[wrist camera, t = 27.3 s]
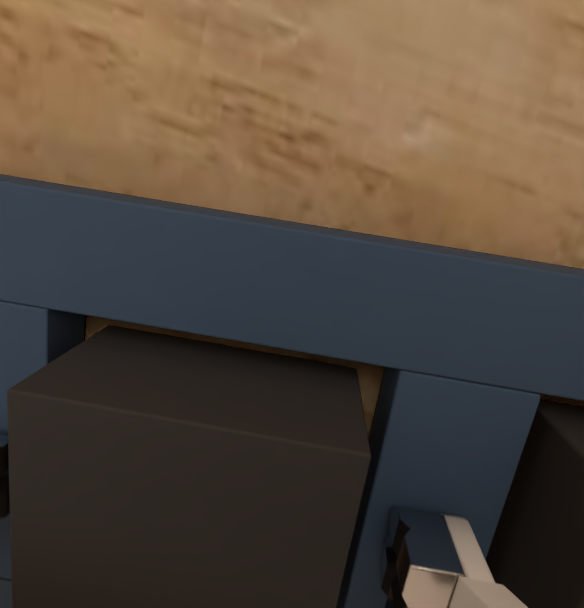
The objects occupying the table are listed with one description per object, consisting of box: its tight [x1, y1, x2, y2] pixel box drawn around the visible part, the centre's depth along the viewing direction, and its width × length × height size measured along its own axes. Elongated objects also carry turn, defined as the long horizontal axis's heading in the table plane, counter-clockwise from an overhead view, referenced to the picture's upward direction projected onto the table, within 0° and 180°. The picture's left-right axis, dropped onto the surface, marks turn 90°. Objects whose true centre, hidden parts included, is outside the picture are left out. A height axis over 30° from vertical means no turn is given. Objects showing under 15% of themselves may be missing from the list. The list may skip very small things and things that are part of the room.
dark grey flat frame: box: [0, 174, 584, 608], centre depth 10 cm, size 22×12×2 cm, turn 81°
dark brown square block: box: [7, 325, 371, 608], centre depth 9 cm, size 6×6×4 cm
